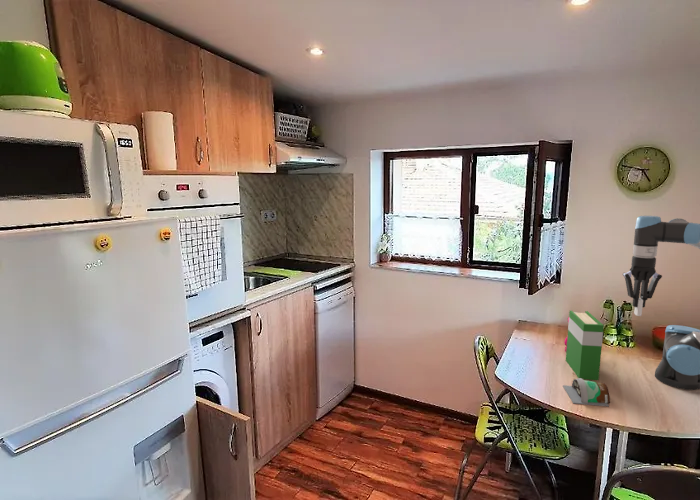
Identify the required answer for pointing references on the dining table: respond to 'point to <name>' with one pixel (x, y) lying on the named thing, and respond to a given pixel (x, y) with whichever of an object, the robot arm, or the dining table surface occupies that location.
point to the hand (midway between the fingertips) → (637, 314)
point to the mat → (577, 399)
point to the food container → (591, 391)
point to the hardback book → (584, 345)
